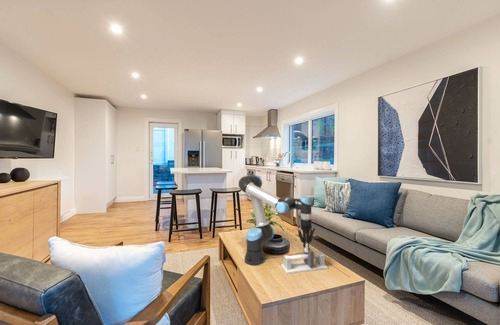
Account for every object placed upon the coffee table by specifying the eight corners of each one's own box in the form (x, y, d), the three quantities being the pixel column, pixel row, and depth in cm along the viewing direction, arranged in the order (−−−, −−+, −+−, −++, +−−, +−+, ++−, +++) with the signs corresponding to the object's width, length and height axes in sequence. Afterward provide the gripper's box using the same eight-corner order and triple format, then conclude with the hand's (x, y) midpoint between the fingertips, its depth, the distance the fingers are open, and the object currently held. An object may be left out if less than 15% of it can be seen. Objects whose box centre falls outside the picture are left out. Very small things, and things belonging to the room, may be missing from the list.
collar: (310, 267, 160) (310, 252, 159) (303, 260, 171) (303, 245, 170) (313, 267, 160) (313, 251, 160) (306, 260, 171) (306, 245, 171)
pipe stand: (287, 273, 156) (287, 260, 155) (281, 265, 168) (281, 252, 167) (327, 268, 162) (327, 255, 162) (319, 261, 174) (319, 249, 173)
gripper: (299, 220, 159) (299, 254, 159) (317, 219, 161) (317, 253, 162) (295, 218, 166) (295, 250, 167) (312, 216, 169) (312, 248, 169)
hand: (306, 251), depth 164 cm, fingers closed
